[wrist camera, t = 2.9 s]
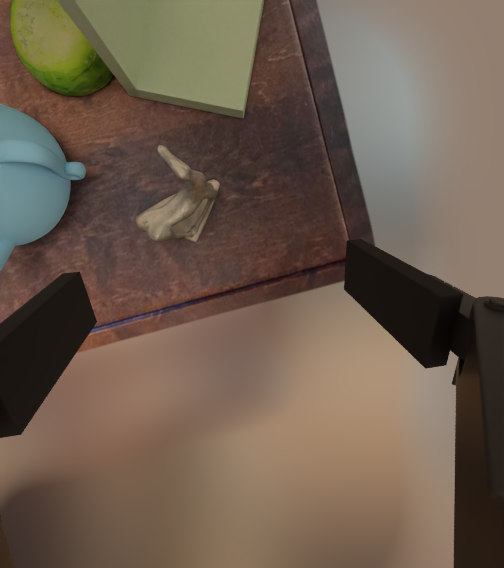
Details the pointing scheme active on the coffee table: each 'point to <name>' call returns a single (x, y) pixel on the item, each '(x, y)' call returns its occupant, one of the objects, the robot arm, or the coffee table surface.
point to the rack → (175, 48)
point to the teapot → (30, 180)
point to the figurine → (180, 205)
